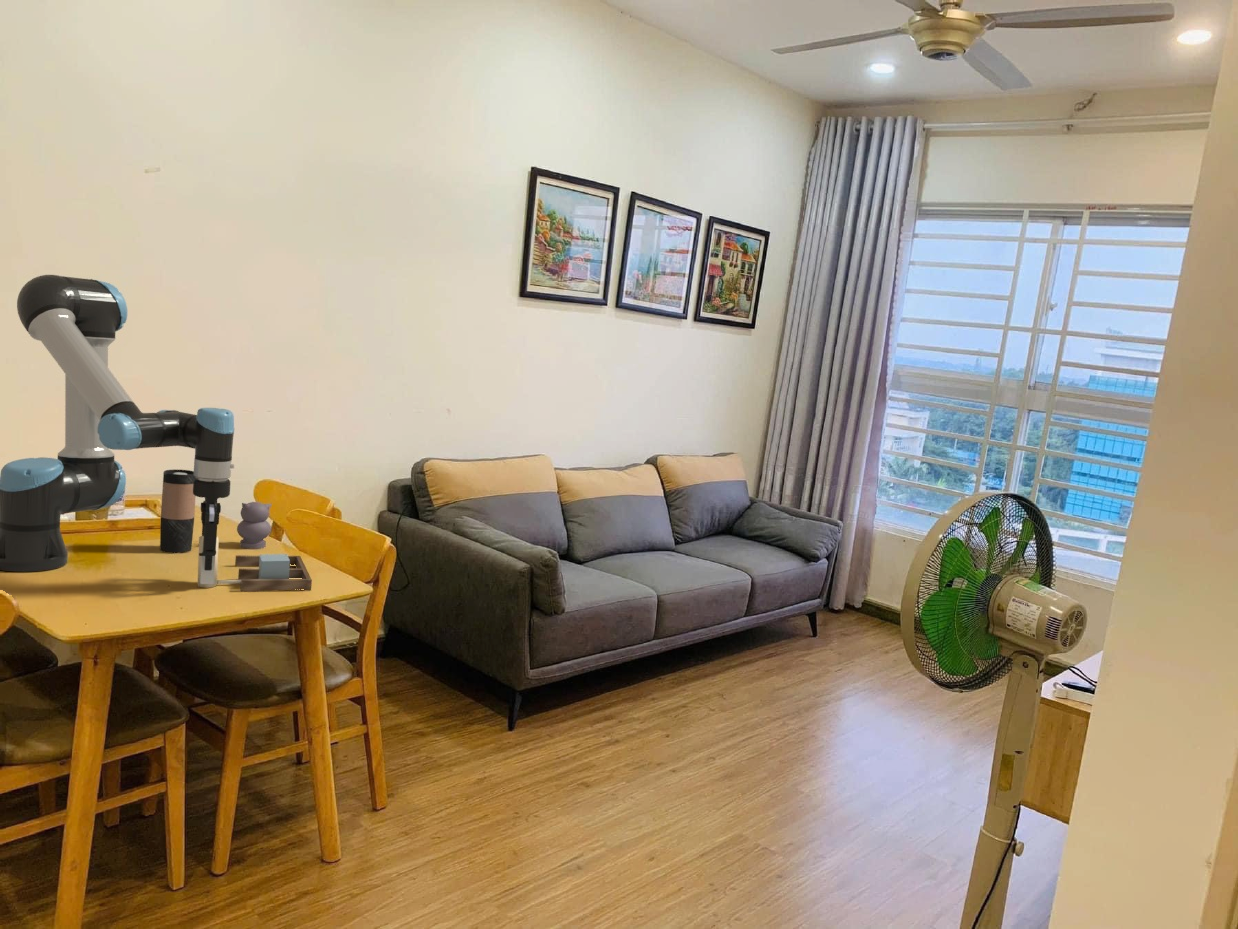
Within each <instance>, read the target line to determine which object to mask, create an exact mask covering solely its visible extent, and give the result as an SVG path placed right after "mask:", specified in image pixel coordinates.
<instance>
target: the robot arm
mask: <svg viewBox="0 0 1238 929" xmlns="http://www.w3.org/2000/svg"><path fill="white" fill-rule="evenodd" d="M16 301H17V302H16V310H17V314H18V317H19V320H20V322H21V324H22V326H23V327H24V329H25V331H26V332H27V333H28V334H29V335H30V336H29V337H31V338H32V339H33V340H36V341H39V342H41V343H42V344H43V346H44V347H45V349H46V350H47V351H48V352H49V354H50V356H51V357H52V358H53V359H54V361H55V362H56V363H57V364H58V366H59V367H60V369H61V370H62V371H63V373H64V374H65V376H64V377H65V379H64V380H65V383H64V386H65V388H64V389H65V391H64V392H65V393H64V394H65V395H64V396H65V398H64V400H65V401H64V402H65V406H64V408H65V409H64V410H65V413H64V414H65V415H64V416H65V418H64V424H65V426H64V427H65V428H64V431H65V434H64V435H65V437H64V439H65V440H64V442H65V443H64V444H65V445H64V447H63V448H62V449H61V450H60V451H59V452H57V458H53V457H45V456H43V457H36V458H35V457H27V458H21V459H17V460H12V461H9V462H7V463H6V464H4V466H3V467H2V468H1V470H0V571H4V572H5V571H6V572H16V573H17V572H18V573H20V572H23V573H24V572H26V573H27V572H29V573H30V572H41V571H44V572H45V571H50V570H54V569H58V568H61V567H64V566H66V565H67V564H68V559H69V557H68V555H69V554H68V549H67V548H66V547H67V546H66V544H65V541H64V538H63V535H62V533H61V515H63V514H70V513H78V512H84V511H85V512H86V511H97V510H101V509H103V508H109V507H111V506H113V505H115V504H116V503H117V501H119V500H120V499H121V497H122V496H123V494H124V493H125V489H126V484H127V478H126V477H127V476H126V473H125V470H124V469H123V466H122V465H121V463H120V462H118V461H116V460H115V453H114V452H113V451H112V450H114V451H115V450H116V451H117V450H118V451H121V450H122V451H131V450H135V449H136V450H139V449H148V448H149V449H150V448H164V447H165V448H166V447H168V448H169V447H184V448H189V449H194V459H193V460H194V462H193V471H194V476H195V477H196V478H195V479H194V481H193V494H194V495H195V497H197V498H204V500H202V501H203V502H200V512H201V516H200V520H201V525H202V527H201V536H204V538H203V552H202V553H199V552H198V556H202V560H201V577H200V584H214V569H215V555H216V538H217V536H218V535H217V534H218V525H219V524H220V514H221V511H222V508H221V506H222V505H221V502H218V499H223V498H224V499H225V498H228V497H229V496H230V494H231V481H230V478H231V476H232V474H231V473H232V470H231V469H235V464H233V463H232V459H233V457H232V456H233V443H234V434H235V416H234V412H232V411H231V410H230V409H226V408H219V407H218V408H216V407H201V408H199V409H197V411H196V413H197V414H193V413H189V412H183V411H180V410H175V409H172V410H169V409H161V410H159V411H157V412H142V411H141V410H140V408H139V407H138V406H137V405H136V403H135V402H134V400H132V397H131V396H130V395H129V394H128V393H127V392H126V390H125V389H124V387H123V386H122V384H121V383H120V382H119V381H118V379H117V377H115V376H114V374H113V372H112V371H111V370H110V368H109V367H108V366H109V346H110V345H111V344H112V343H114V341H115V340H116V332H118V331H120V330H121V329H123V328H124V324H126V322H127V320H128V306H127V302H126V299H125V297H124V296H123V294H122V292H120V291H119V289H118V288H117V287H115V285H114V284H111V283H110V282H109V283H108V282H106V281H102V280H98V279H93V278H91V279H90V278H89V279H88V278H81V277H80V278H79V277H71V276H63V275H56V274H42V275H38V276H36V277H33V278H32V279H30V280H28V281H27V282H26V283H25V284H24V285H23V286H22V287H21V289H20V291H19V293H18V297H17V299H16Z"/></svg>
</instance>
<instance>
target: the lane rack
mask: <svg viewBox="0 0 1238 929" xmlns="http://www.w3.org/2000/svg"><path fill="white" fill-rule="evenodd" d="M287 556H288V558H289V560H290V564H291V565H294V564H295V565H296V566H295V568H290V569H289V578H302V579H259V568H238V576H237V580H241V583H240V592H263V591H262V590H295V589H296V590H297V589H298V590H299V589H300V590H301V589H304V590H311V591H312V584H313V582H312V581H313V579H312V578H311V577H312V576H311V575H310V573H309V571H308V569H307V567H306V565H305V563H304V561H303V558H302V557H301V555H287ZM234 566H235V567H259V555H243V554H241V555H239V554H238V555H235V562H234ZM296 567H297V568H296ZM259 590H260V591H259Z"/></svg>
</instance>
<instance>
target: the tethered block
mask: <svg viewBox="0 0 1238 929" xmlns="http://www.w3.org/2000/svg"><path fill="white" fill-rule="evenodd" d="M203 538H204V536H202V535H201V536H199V538H198V554H199V553H202V552H203ZM219 542H220V541H219V536H218V535H217V538H216V555H215V569H214V584H200V577H201V560H202V556H199V555H198V556H197V557H198V558H197V559H198V563H197V565H198V566H197V587H200V588H204V589H205V588H207V589H208V588H215V587H217V586H218V585H223V584H224V585H225V584H227V585H229V584H241V580H238V579H220V580H219V579H218V572H219V571H218V568H219V544H220V543H219ZM258 556H259V566H258V569H259V579H289V569H291V566H290V560H289V558H288V556H289V555H288V554H287V553H280V554H279V553H278V554H277V553H275V554H272V553H271V554H270V553H268V554H259V555H258Z"/></svg>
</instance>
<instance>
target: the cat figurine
mask: <svg viewBox="0 0 1238 929" xmlns="http://www.w3.org/2000/svg"><path fill="white" fill-rule="evenodd" d="M272 505H273V502H272V503H262V502H261V501H251V502H248V503H244V502H241V510H240V516H241V519H242V521H240V522H239V523H238V525H236V526H237V527H236V531H237V534H238V535H239V536H240V537H241V538H242V539H241V540H240V541H239V547H240V548H243V549H247V550H262V549H265V548H266V547H267V545H266V544H267V541H266V540H264V539H266V538H267V537H268V536H269V535H270V534H271V532H272V526H271V524H270V522H269V521H267V520H268V518H269V517H270V509H271V507H272ZM264 547H265V548H264ZM261 548H262V549H261Z"/></svg>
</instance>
